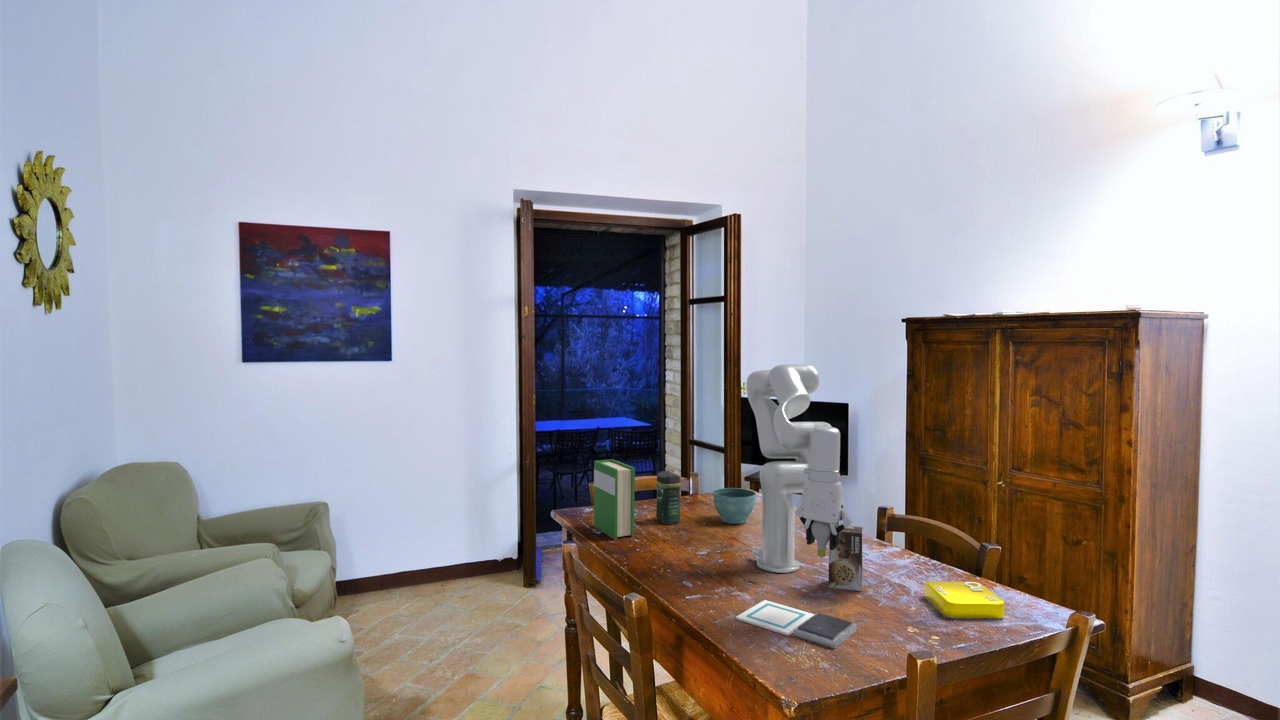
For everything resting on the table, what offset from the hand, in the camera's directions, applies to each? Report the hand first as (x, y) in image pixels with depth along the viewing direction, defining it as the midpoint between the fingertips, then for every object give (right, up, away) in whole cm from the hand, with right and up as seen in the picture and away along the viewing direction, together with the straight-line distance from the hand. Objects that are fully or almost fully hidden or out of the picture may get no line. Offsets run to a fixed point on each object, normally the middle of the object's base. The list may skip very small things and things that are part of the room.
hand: (822, 545), depth 171 cm
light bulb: (0, -3, 0) cm, 3 cm away
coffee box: (+11, -16, +16) cm, 25 cm away
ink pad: (-3, -16, -14) cm, 22 cm away
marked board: (-13, -16, -6) cm, 22 cm away
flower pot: (-11, -13, +81) cm, 83 cm away
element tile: (+37, -17, +2) cm, 41 cm away
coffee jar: (-36, -13, +80) cm, 89 cm away
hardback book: (-56, -14, +66) cm, 88 cm away
